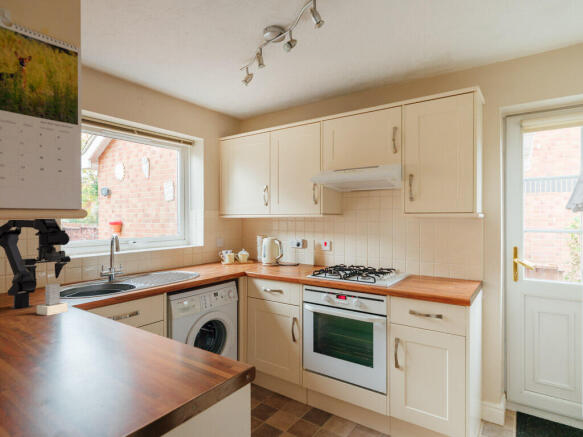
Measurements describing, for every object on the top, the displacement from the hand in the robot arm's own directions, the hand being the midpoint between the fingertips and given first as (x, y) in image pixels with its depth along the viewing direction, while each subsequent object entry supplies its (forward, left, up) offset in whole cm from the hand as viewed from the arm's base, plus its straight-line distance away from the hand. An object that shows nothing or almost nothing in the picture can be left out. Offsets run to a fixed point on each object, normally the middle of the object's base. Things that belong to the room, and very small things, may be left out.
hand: (45, 279), depth 153 cm
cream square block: (+12, -4, -13) cm, 18 cm away
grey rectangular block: (+12, -3, -13) cm, 18 cm away
